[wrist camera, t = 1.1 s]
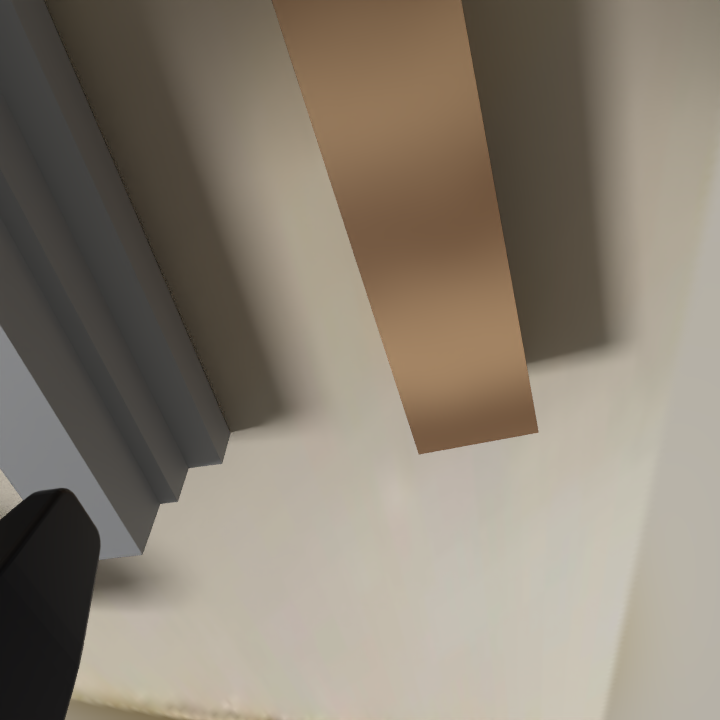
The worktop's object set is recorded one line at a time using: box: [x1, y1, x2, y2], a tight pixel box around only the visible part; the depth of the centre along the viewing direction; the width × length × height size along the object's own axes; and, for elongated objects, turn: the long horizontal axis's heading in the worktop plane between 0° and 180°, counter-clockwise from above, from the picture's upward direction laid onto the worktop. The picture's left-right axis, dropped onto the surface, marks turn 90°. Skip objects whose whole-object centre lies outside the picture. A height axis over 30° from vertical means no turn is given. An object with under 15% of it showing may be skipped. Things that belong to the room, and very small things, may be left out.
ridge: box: [0, 0, 230, 560], centre depth 18 cm, size 16×6×5 cm, turn 12°
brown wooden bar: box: [272, 0, 538, 454], centre depth 17 cm, size 14×4×4 cm, turn 16°
